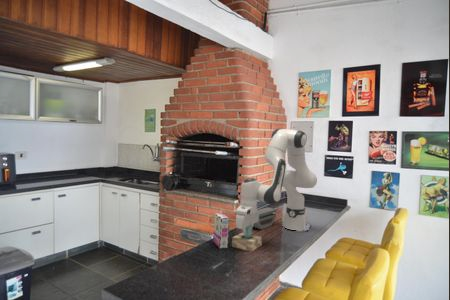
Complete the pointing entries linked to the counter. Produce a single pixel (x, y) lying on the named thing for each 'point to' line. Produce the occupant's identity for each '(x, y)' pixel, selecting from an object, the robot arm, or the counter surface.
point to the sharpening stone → (265, 218)
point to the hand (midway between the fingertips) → (247, 233)
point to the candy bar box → (221, 230)
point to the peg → (248, 232)
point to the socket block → (246, 242)
